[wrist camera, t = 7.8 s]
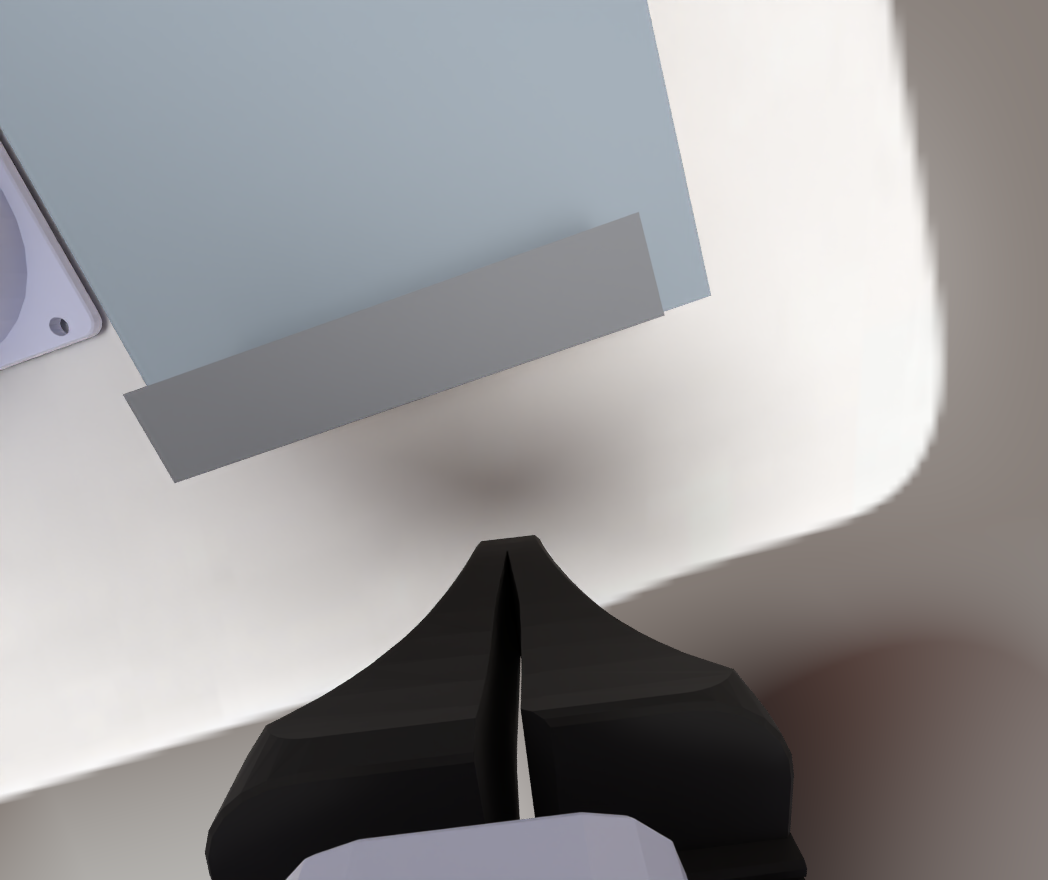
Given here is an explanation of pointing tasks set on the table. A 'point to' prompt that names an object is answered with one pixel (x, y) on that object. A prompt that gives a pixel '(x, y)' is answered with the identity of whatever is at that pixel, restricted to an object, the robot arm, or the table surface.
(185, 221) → the lid
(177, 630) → the table surface
